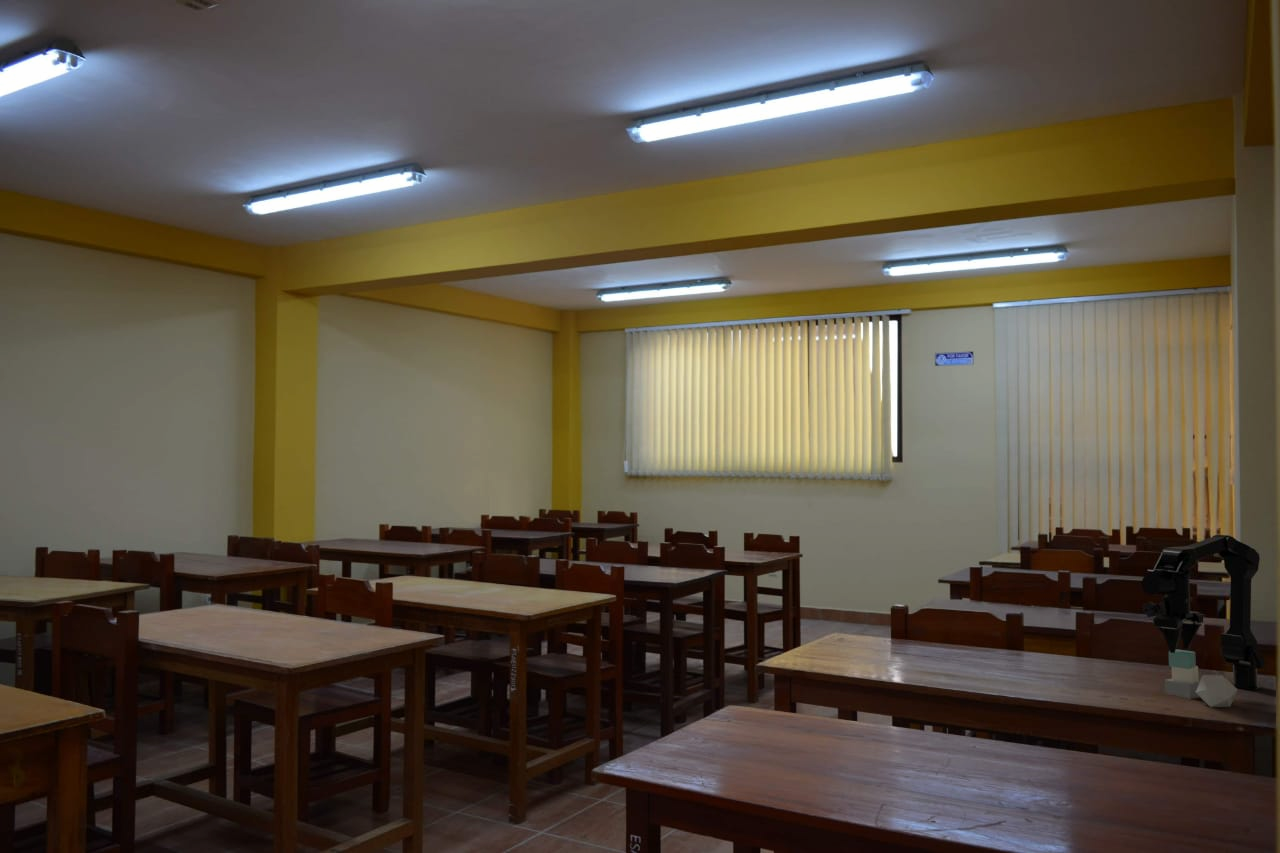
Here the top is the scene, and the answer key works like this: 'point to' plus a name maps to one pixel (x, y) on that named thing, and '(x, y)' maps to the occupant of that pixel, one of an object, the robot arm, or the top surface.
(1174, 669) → the cream brick
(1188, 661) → the teal brick
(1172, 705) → the top surface
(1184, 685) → the base block
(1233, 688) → the die
